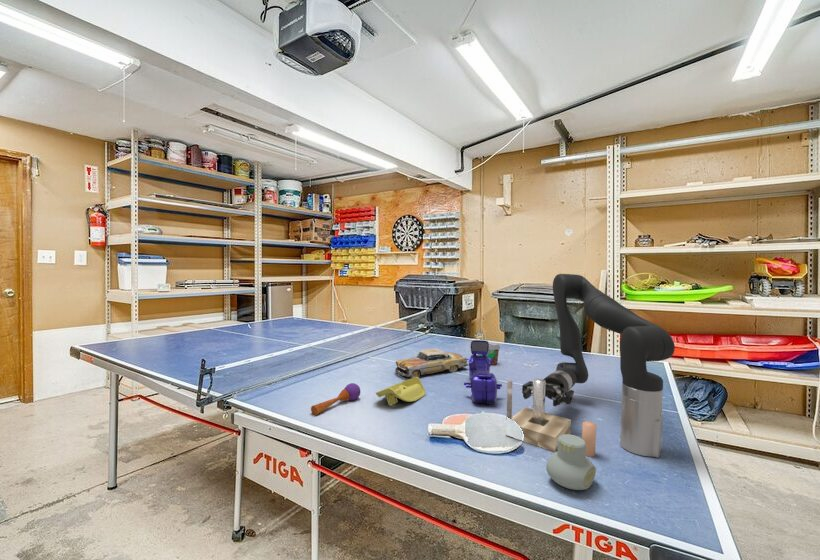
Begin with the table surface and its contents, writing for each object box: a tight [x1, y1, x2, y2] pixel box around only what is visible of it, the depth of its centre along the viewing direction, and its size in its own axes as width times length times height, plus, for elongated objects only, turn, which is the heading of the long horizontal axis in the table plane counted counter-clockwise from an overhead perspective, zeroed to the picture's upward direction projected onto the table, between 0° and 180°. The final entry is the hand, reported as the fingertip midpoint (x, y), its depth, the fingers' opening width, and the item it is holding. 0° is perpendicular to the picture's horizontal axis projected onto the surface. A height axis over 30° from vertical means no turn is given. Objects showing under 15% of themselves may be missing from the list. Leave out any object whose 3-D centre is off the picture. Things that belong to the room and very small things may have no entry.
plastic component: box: [375, 377, 426, 406], centre depth 133 cm, size 20×7×10 cm
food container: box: [477, 343, 501, 367], centre depth 178 cm, size 12×6×10 cm, turn 47°
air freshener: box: [545, 433, 597, 491], centre depth 84 cm, size 11×8×10 cm
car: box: [394, 348, 469, 379], centre depth 165 cm, size 12×34×10 cm, turn 118°
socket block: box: [506, 380, 572, 453], centre depth 106 cm, size 14×14×16 cm
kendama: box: [310, 382, 361, 416], centre depth 127 cm, size 6×6×20 cm
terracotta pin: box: [581, 421, 597, 458], centre depth 96 cm, size 3×3×8 cm
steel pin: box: [532, 378, 546, 426], centre depth 106 cm, size 3×3×16 cm
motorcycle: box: [463, 339, 503, 405], centre depth 143 cm, size 35×14×18 cm, turn 173°
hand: (539, 399), depth 106 cm, fingers open, 8 cm apart
